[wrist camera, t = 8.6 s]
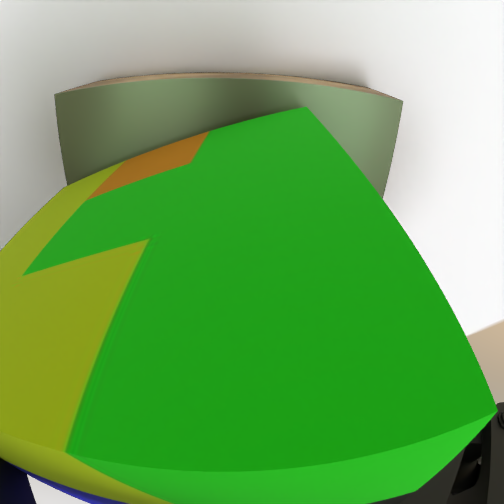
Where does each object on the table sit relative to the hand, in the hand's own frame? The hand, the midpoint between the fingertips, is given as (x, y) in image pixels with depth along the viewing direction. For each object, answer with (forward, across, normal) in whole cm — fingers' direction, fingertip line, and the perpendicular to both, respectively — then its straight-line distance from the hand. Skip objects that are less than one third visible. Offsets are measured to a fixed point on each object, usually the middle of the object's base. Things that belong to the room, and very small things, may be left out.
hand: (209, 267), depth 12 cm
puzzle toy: (+1, 0, 0) cm, 1 cm away
